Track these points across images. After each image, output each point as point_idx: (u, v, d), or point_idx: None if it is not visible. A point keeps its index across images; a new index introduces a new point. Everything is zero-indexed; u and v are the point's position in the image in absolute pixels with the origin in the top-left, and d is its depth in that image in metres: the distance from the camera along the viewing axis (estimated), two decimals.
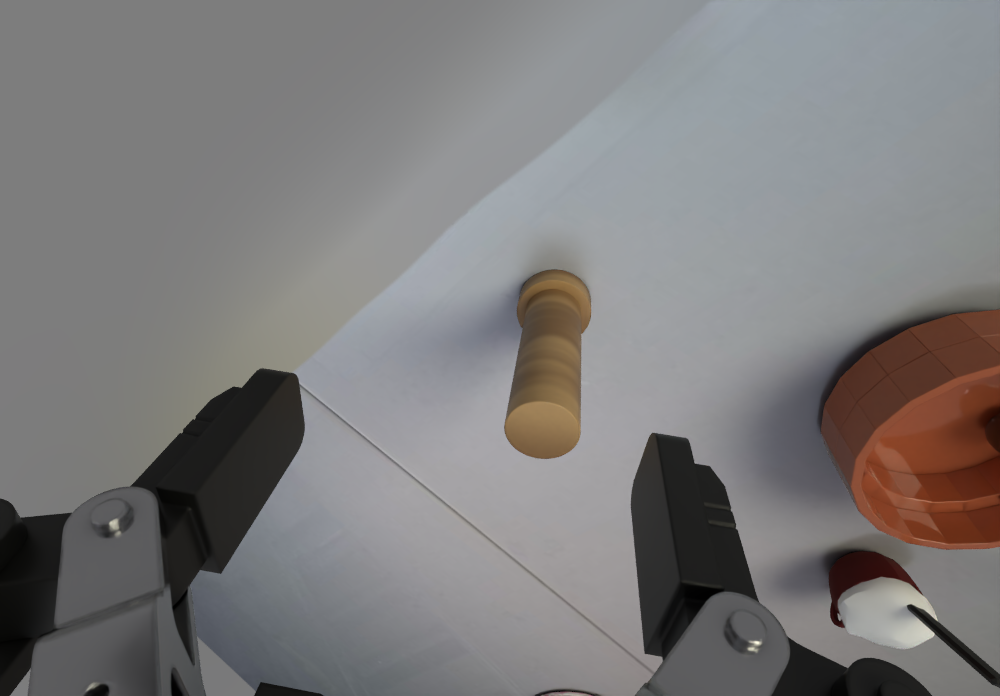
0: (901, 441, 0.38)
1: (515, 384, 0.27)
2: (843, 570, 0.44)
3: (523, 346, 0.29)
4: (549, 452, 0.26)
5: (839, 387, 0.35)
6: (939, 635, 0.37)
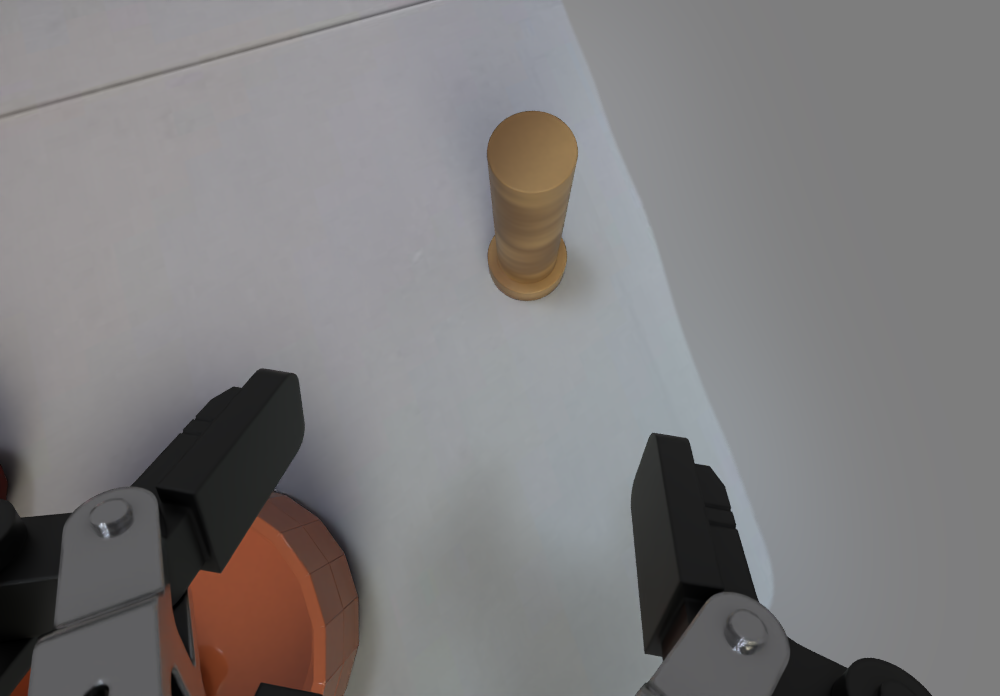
0: None
1: None
2: None
3: None
4: (498, 146, 0.21)
5: (310, 515, 0.30)
6: None
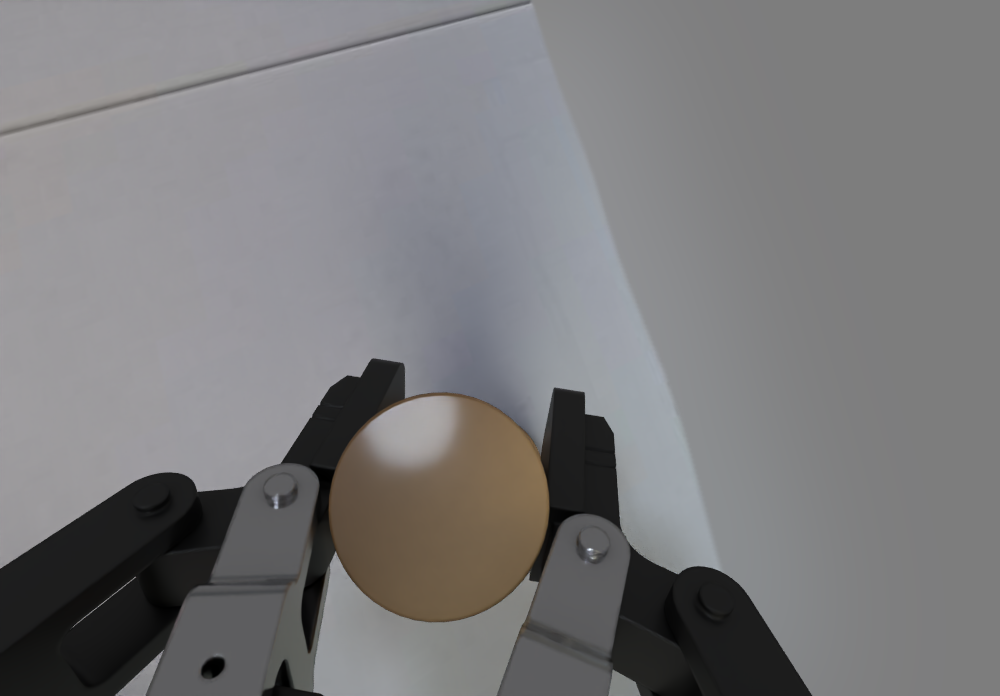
0: None
1: None
2: None
3: None
4: (355, 488, 0.09)
5: None
6: None
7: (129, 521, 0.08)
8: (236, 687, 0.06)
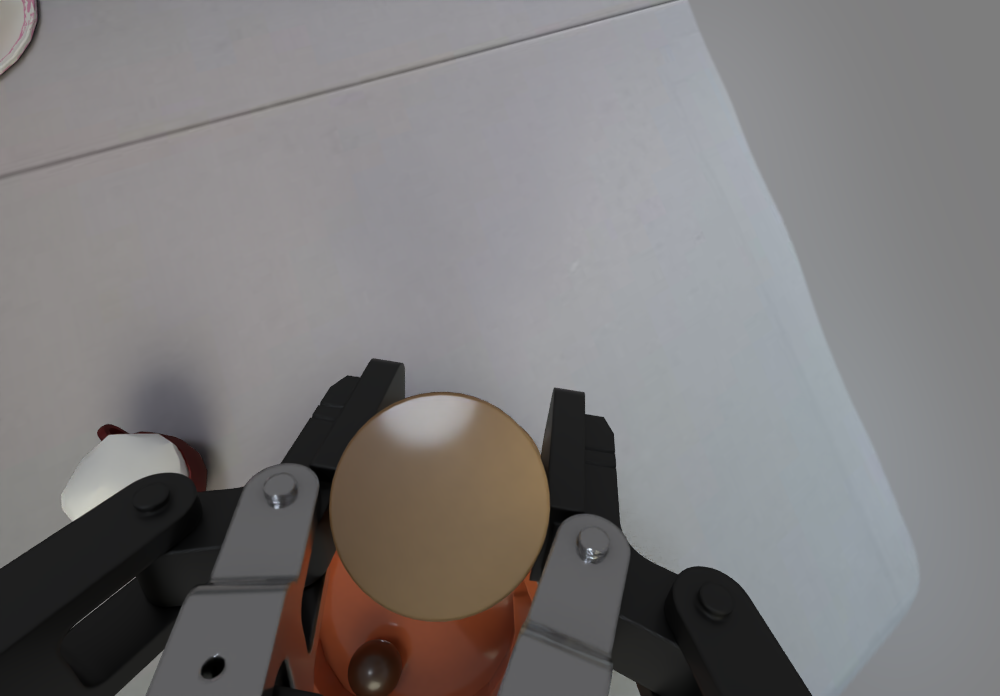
0: None
1: None
2: (197, 458, 0.33)
3: None
4: (356, 487, 0.09)
5: None
6: None
7: (129, 521, 0.08)
8: (236, 687, 0.06)
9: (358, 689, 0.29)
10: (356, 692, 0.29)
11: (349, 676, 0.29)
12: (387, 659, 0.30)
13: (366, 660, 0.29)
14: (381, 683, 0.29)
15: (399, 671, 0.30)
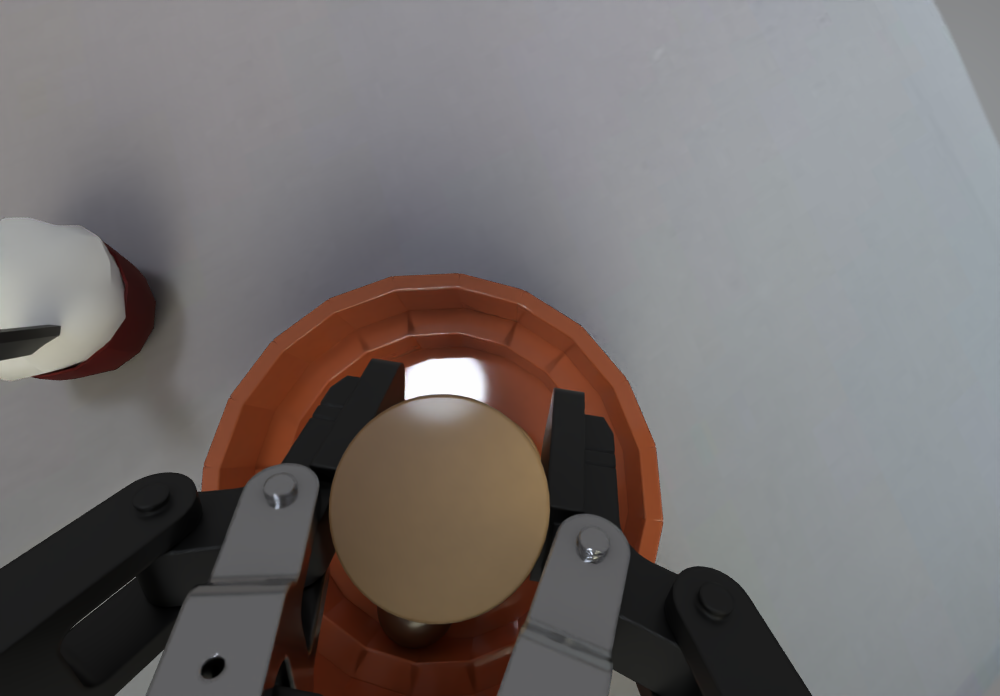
0: None
1: None
2: (140, 277, 0.23)
3: None
4: (355, 490, 0.09)
5: None
6: (5, 330, 0.17)
7: (130, 521, 0.08)
8: (236, 687, 0.06)
9: (414, 647, 0.20)
10: (407, 647, 0.20)
11: (398, 639, 0.19)
12: None
13: None
14: (447, 630, 0.20)
15: None
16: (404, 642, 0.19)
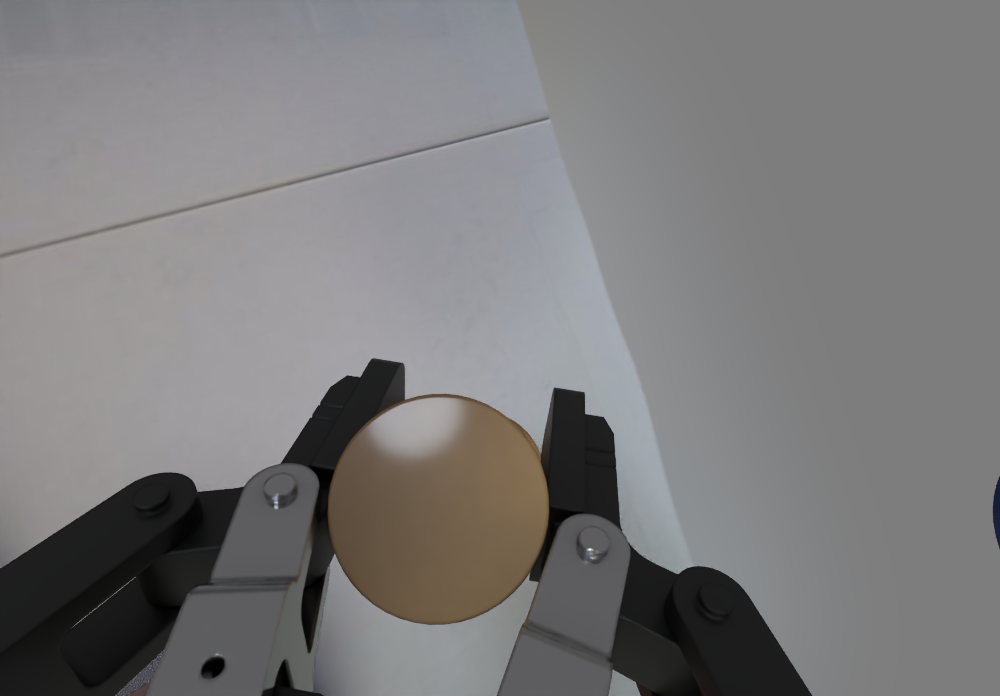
0: None
1: None
2: None
3: None
4: (354, 491, 0.09)
5: None
6: None
7: (129, 521, 0.08)
8: (236, 687, 0.06)
9: None
10: None
11: None
12: None
13: None
14: None
15: None
16: None
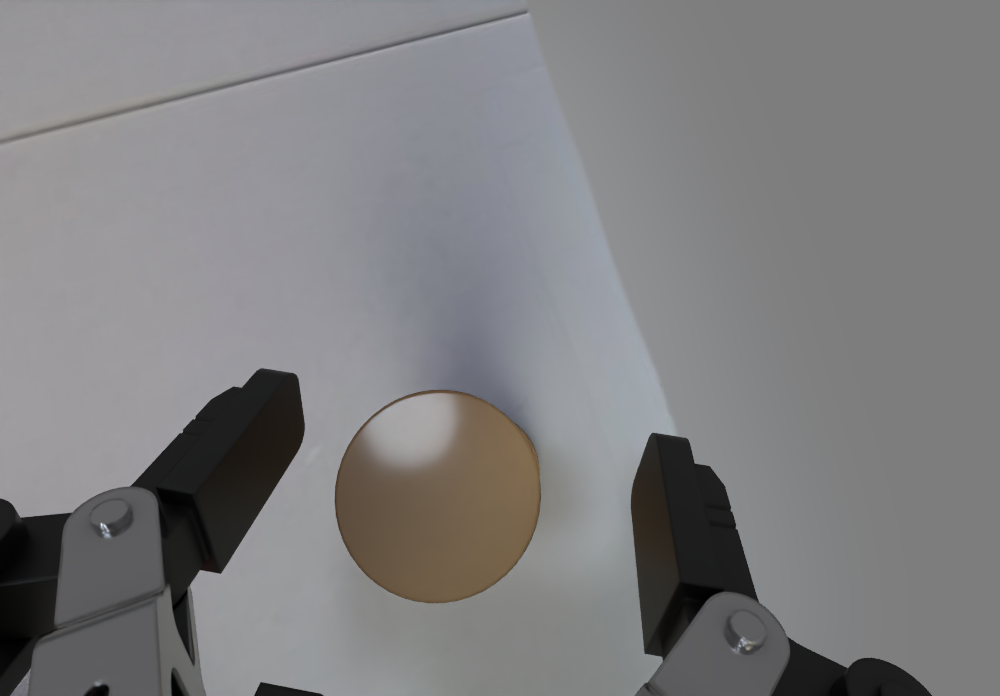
0: None
1: None
2: None
3: None
4: (360, 479, 0.09)
5: None
6: None
7: None
8: None
9: None
10: None
11: None
12: None
13: None
14: None
15: None
16: None
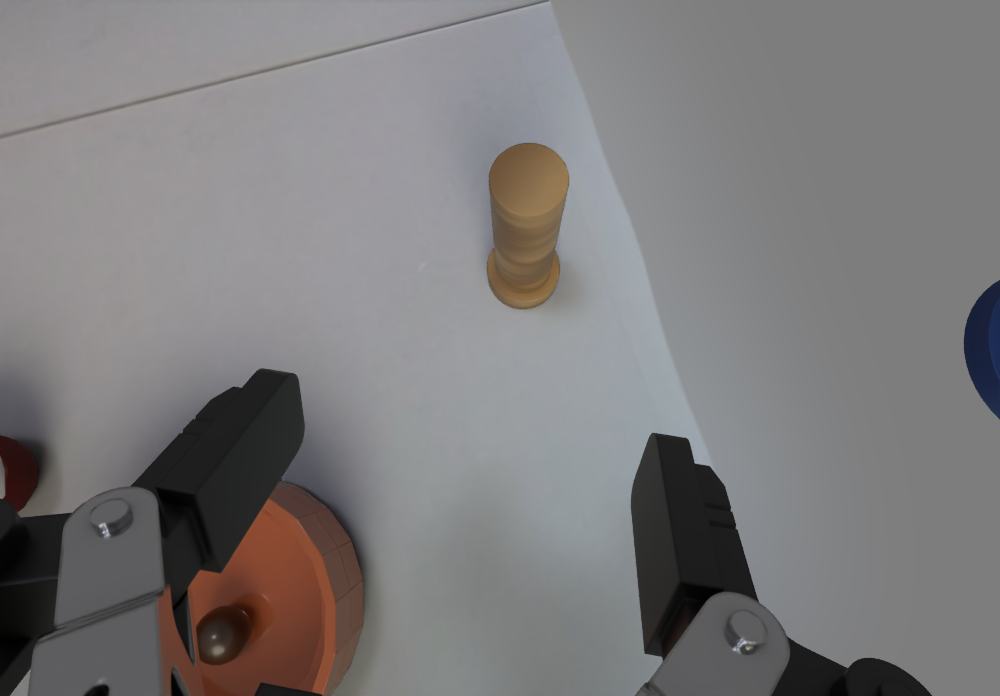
0: None
1: None
2: (22, 456, 0.33)
3: None
4: (498, 174, 0.24)
5: (320, 504, 0.33)
6: None
7: None
8: None
9: (230, 618, 0.30)
10: (223, 618, 0.30)
11: (226, 607, 0.30)
12: (250, 637, 0.31)
13: (248, 616, 0.31)
14: (243, 637, 0.30)
15: None
16: (230, 608, 0.30)
